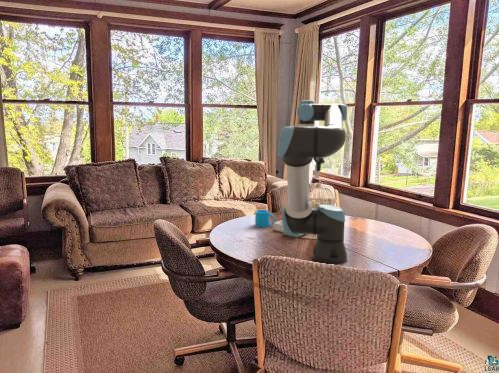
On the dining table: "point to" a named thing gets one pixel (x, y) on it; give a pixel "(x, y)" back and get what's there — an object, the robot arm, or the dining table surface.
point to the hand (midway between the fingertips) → (305, 176)
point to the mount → (278, 226)
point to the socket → (291, 234)
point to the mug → (263, 218)
